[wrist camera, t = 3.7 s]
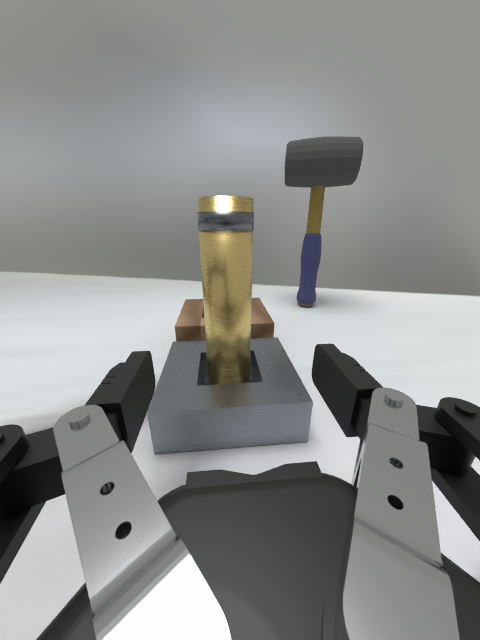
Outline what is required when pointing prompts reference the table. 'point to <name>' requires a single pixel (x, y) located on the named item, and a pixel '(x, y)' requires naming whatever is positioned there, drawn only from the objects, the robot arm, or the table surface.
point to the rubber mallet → (319, 192)
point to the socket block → (228, 402)
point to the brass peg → (227, 285)
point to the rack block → (194, 324)
